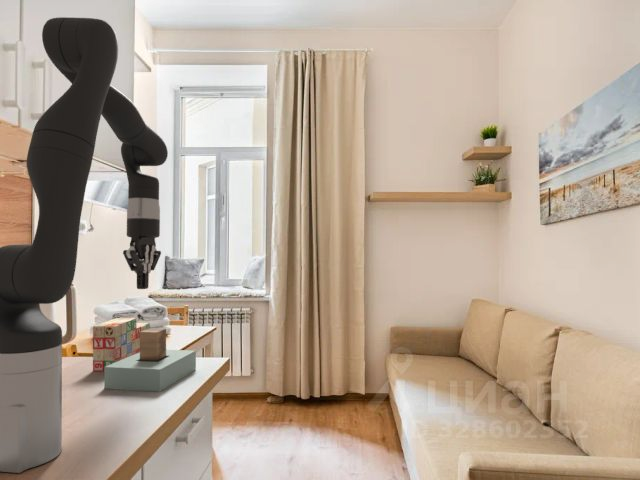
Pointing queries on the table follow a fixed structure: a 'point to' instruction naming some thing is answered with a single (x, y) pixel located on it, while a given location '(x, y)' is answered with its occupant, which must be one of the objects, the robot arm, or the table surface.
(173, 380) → the socket board
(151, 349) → the walnut peg
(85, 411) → the table surface
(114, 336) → the stack of blocks
